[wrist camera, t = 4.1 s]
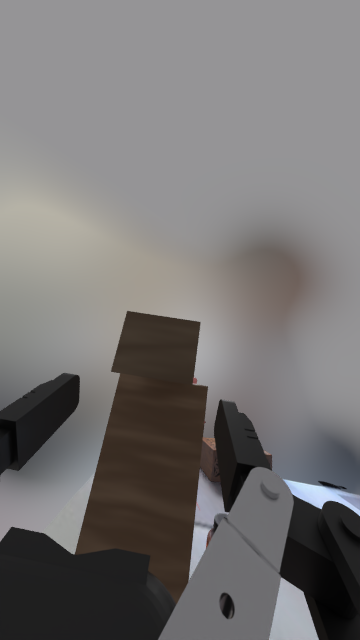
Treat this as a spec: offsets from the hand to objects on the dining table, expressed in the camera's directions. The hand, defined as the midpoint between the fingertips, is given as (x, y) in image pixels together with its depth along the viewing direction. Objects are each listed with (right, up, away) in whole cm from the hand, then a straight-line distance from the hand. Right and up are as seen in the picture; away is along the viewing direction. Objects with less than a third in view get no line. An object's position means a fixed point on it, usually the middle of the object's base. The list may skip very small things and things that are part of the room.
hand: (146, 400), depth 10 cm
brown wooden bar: (0, -3, +13) cm, 13 cm away
